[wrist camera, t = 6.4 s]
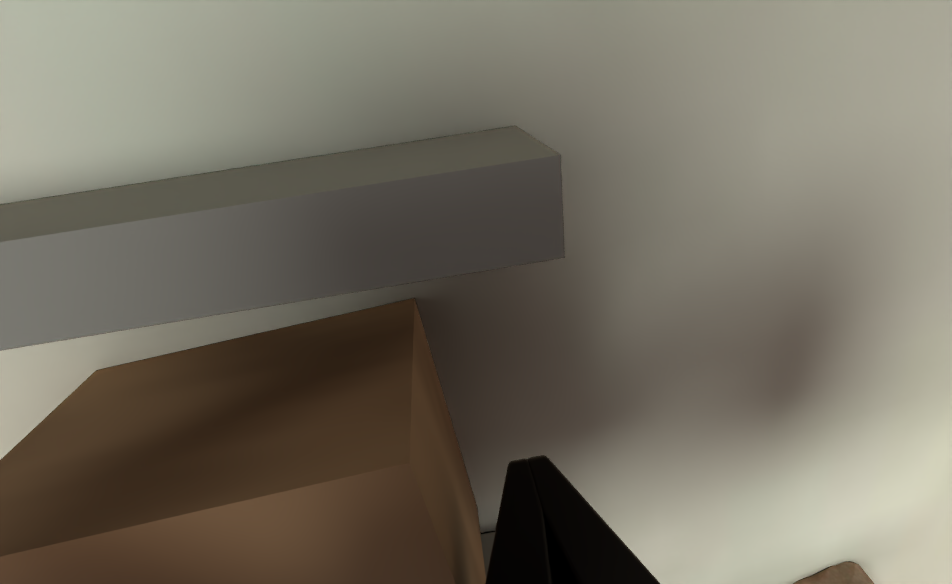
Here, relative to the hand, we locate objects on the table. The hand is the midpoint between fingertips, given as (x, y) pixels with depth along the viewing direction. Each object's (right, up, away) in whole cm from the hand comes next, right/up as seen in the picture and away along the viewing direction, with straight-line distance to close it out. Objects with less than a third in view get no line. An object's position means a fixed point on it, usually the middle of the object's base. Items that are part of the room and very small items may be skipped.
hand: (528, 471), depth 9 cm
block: (-5, 0, +2) cm, 5 cm away
